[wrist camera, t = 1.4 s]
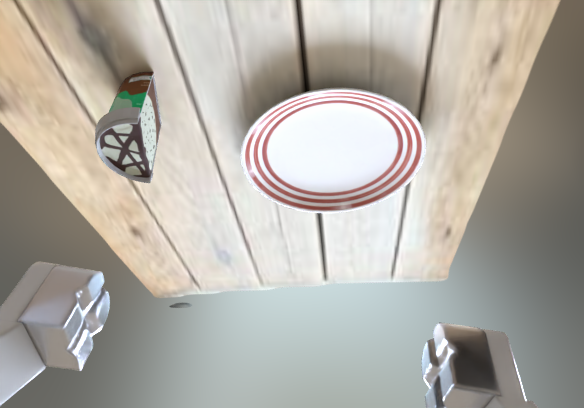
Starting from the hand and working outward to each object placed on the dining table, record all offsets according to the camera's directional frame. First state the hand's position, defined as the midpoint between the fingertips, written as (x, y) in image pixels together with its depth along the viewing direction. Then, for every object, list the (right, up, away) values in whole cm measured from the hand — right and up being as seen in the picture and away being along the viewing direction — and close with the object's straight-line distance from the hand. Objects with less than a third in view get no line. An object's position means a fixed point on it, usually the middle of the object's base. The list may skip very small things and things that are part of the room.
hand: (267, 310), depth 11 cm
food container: (-21, +17, +50) cm, 57 cm away
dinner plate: (+7, +12, +59) cm, 60 cm away
